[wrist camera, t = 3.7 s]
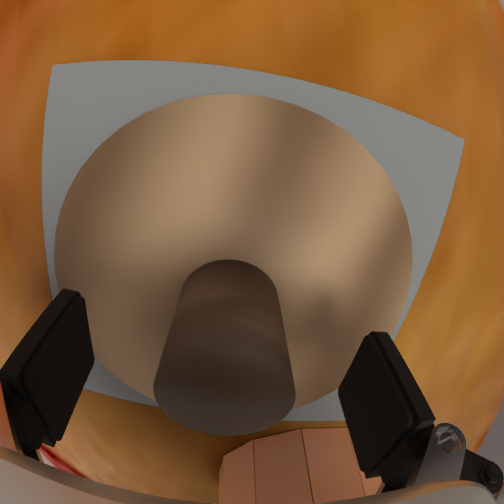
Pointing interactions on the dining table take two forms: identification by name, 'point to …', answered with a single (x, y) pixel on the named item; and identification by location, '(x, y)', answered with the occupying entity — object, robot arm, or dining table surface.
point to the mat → (248, 83)
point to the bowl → (294, 469)
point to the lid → (233, 257)
